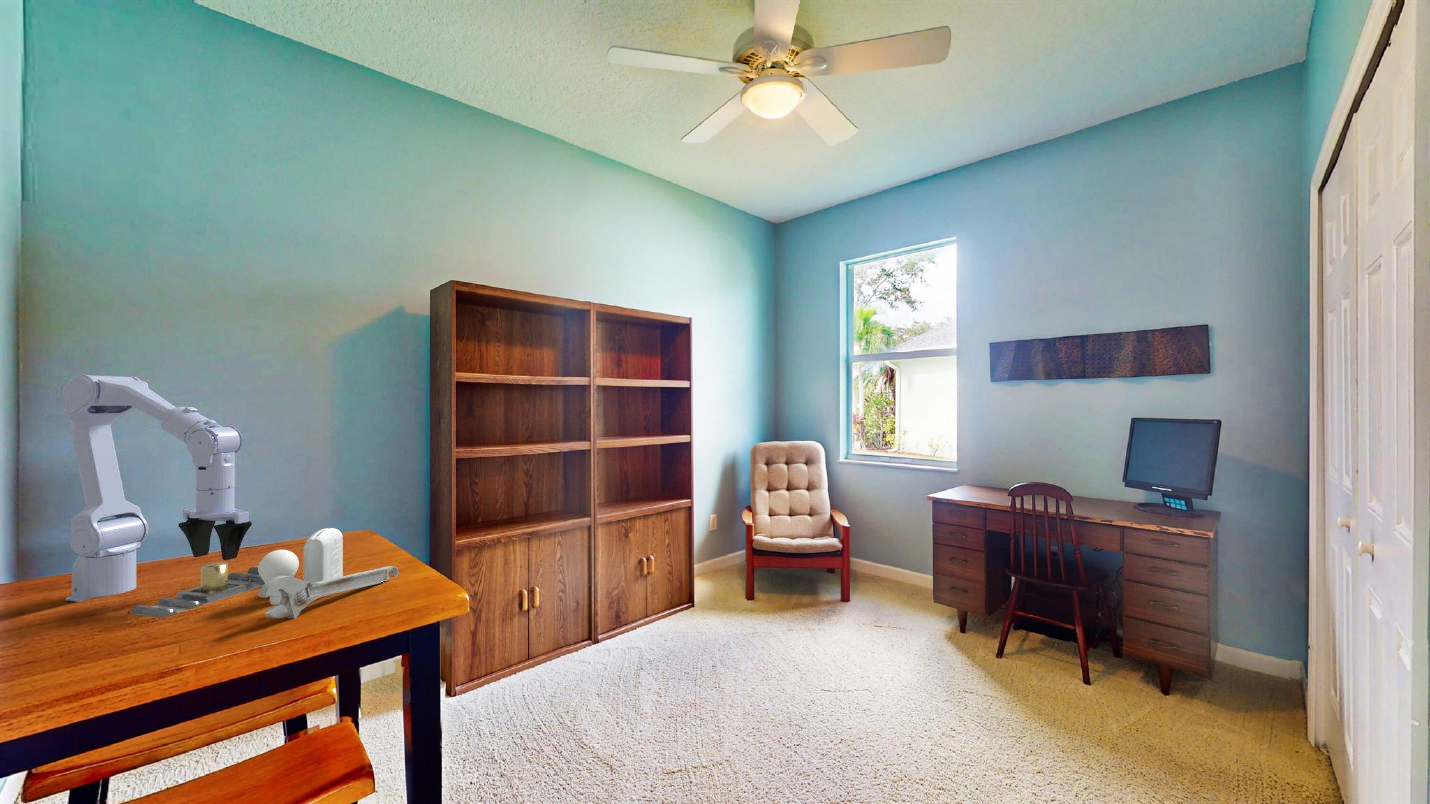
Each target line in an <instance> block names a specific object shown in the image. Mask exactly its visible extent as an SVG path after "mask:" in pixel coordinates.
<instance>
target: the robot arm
mask: <svg viewBox="0 0 1430 804" xmlns="http://www.w3.org/2000/svg"><path fill="white" fill-rule="evenodd" d="M61 392H62V396H63V401H64V402H63V403H64V407H65V412H66V417H67V419H68V422H69V429H70V434H71V438H72V439H71V440H72V444H73V449H74V453H75V458H76V463H77V467H78V468H77V469H78V473H79V479H80V483H81V484H80V485H81V489H82V494H83V498H84V502H85V507H84V508H83V509H82V510H81V511H79V513H77V514H76V515H75V516H73V517H72V518H71V519H70V521H69V522H70V526H71V530H70V534H69V538H68V539H69V540H68V541H69V542H68V543H69V545H70V548H71V549H72V550H73V551H74V552H75V553H76V554H78V557H77V558H76V559H75V561H74V562H73V564H72V567H71V596H68V597H65V601H70V602H76V603H79V602H83V601H87V600H91V599H94V598H95V599H96V598H101V597H103V598H104V597H108V596H109V597H110V596H115V595H119V594H123V593H127V592H130V591H133V590H135V589H137V549H138V548H141V543H142V542H143V543H144V541H145V540H146V539H147V537H148V534H149V529H150V528H149V524H148V522H147V520H146V519H145V518H144V516H143V514H142V510H141V507H140V506H138V505H137V504H134V503H132V502H130V501H129V500H126V497H125V491H124V488H123V482H122V476H121V473H120V467H119V462H118V456H117V452H116V448H115V442H114V438H113V431H112V427H111V425H112V424H113V422H115V421H116V419H119V418H121V417H122V416H124V415H125V414H127V413H128V412H130V411H131V410H132V409H135V410H137V411H139V412H142V413H144V414H145V415H148V416H149V417H151V418H154V419H155V420H157V421H159V422H160V427H161V430H162V431H164V432H166V433H167V434H169V435H171V436H173V437H174V438H176V439H177V440H179V441H181V442H182V443H185V444H186V448H187V450H188V452H189V453H190V455H191V457H192V464H193V465H194V467H195V507H192V508H191V507H190V508H183V509H182V520H185V521H183V522H179V523H178V525H177V526H178V528H179V529H180V530H181V531H182V532H183V534H184V535H185V537H186V539H187V541H188V545H189V546H190V549H191V552H192V555H193V558H199V557H204V556H208V555H209V553H210V552H209V551H210V547H211V545H210V544H211V537H212V532H213V529H214V530H215V532H216V534H217V536H218V540H219V543H220V544H219V545H220V553H221V554H220V555H221V558H222V560H223V561H229V560H232V559H237V557H238V554H239V551H240V549H241V545H242V542H243V540H244V537H245V535H247V532H248V531H249V529H250V528H251V527H252V523H253V521H250V519H249V518H250V517H249V516H250V514H249V513H250V512H249V511H245V510H241V509H238V508H235V504H236V503H235V500H236V499H235V498H236V495H235V493H236V492H235V491H236V490H235V489H236V488H235V486H236V485H235V484H236V483H235V482H236V480H235V479H236V465H235V464H236V461H235V460H236V459H235V458H236V453H239V452H240V450H241V449H242V448H243V444H244V438H243V435H242V433H241V431H240V430H239V429H237V428H236V426H234V425H220V424H218V423H217V421H215V420H214V419H209V418H207V417H206V416H205V415H202V414H201V413H199V412H198V411H199V410H198V409H197V408H196V407H194V406H179V407H176V406H175V405H173V404H172V403H170V402H169V401H167V400H166V399H165V398H164V397H162V396H160V395H159V394H157V393H156V392H155V391H153V390H152V389H150V388H149V384H148V382H146V381H144V380H141V378H139V377H137V376H132V375H127V376H120V375H119V376H118V375H117V376H116V375H115V376H113V375H89V374H84V373H81V374H75V375H74V376H72V377H71V378H70V379H68V381H67V382H66V384H65V385H64V386H63V388H61ZM109 517H111V518H109ZM112 517H113V518H112ZM103 518H106V519H103ZM107 518H108V519H107ZM100 519H101V520H100ZM216 522H224V523H219V524H216Z"/></svg>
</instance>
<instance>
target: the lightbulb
mask: <svg viewBox="0 0 1430 804" xmlns="http://www.w3.org/2000/svg"><path fill="white" fill-rule="evenodd" d="M299 565H300V561H299V559H298V556H297V555H296V554H295V553H294V552H293V551H291V550H287V549H275V550H273V551H270V552H269V553H267V554H266V555H264V556H263V557H262V559H261V560H260V561H259V563H258V566H257V567H258V572H259V575H260V577H261V578H262V580H263V581H264V582H265V583H266V582H268V581H269V580H270V579H272V578H274V577H277V576H291V577H294V578H295V575H296V573H297V572H298V569H299ZM268 597H269V604H270V605H271V606H272V605H273V606H275V605H277V604H279V603H280V600H281V598H282V595H281V592H279V591H278V590H277V591H276V592H274V593H273V594H271V595H269V596H268Z"/></svg>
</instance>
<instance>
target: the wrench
mask: <svg viewBox="0 0 1430 804" xmlns="http://www.w3.org/2000/svg"><path fill="white" fill-rule="evenodd" d="M390 572H391V573H390ZM389 574H390V575H389ZM396 576H397V577H398V576H399V568H398V567H397V566H383V567H378V568H374V569H369V570H365V571H362V572H355V573H352V574H347V575H343V576H342V577H337V578H333V579H329V580H324V581H320V582H315V583H313V582H307V581H303V580H302V579H299V578H296V577H295V576H294V577H291V576H277V577H274V578H272V579H270V580H269V581H268V582H266V583H265V584H264V585H263V586H262V587H260V588H259V591H258V595H257V597H259V598H268V597H270V596H269V595H271V594H273V593H274V592H276V591H277V590H278V591H279V592H281V595H282V598H281V600H280V603H279V604H275V605H273V606H272V607H270V608H268V610H266V611H264V615H265V617H268V618H271V619H284V618H287V619H296V618H297V617H299V616H300V614H301V611H302V610H304V609H305V608H306V607H307V606H308V605H309V604H311V603H312V602H314V601H316V600H317V599H319V598H324V597H327V596H331V595H335V594H338V593H343V592H349V591H351V590H357V589H361V588H365V587H368V586H369V587H370V586H373V585H377V584H378V585H379V584H382V583H381V582H383V581H387V580H388V579H390V578H389V577H396ZM383 583H384V582H383Z"/></svg>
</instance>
